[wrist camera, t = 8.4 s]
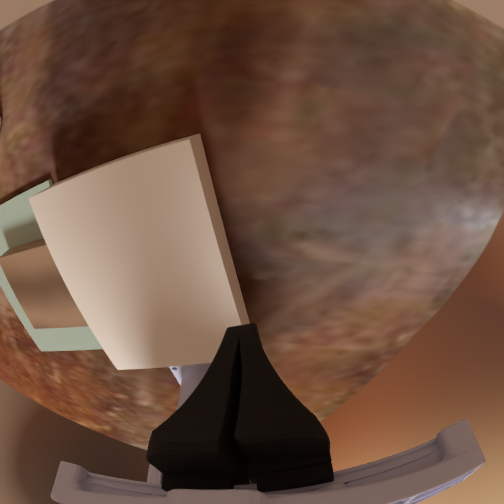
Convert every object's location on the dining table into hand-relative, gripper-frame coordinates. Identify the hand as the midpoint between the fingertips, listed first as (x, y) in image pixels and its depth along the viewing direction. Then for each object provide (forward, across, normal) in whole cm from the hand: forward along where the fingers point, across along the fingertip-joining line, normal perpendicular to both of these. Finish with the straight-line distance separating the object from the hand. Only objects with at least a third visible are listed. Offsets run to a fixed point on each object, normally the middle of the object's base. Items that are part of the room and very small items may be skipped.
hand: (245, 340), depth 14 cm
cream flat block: (+9, +7, -1) cm, 12 cm away
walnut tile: (+9, +18, -1) cm, 20 cm away
